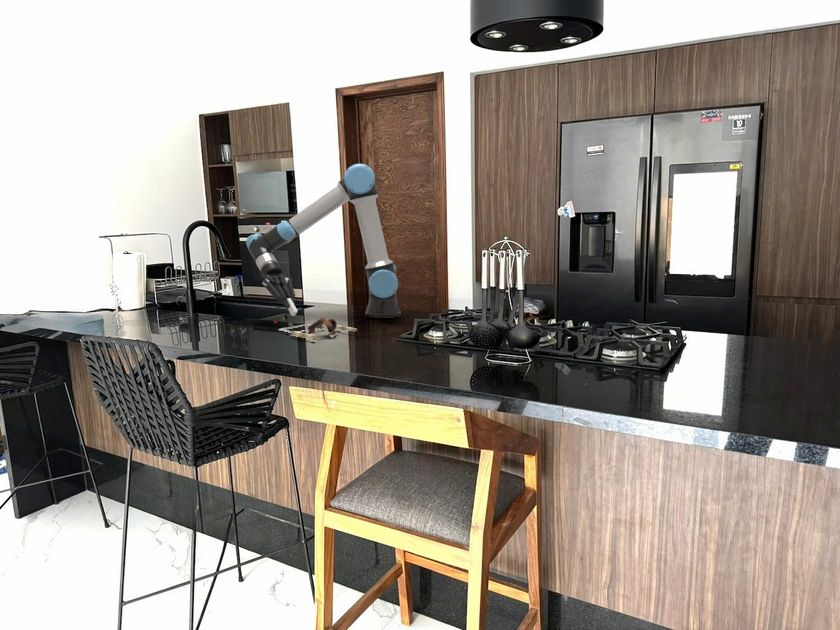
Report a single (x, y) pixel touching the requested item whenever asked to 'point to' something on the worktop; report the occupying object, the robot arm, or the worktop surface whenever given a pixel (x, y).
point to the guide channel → (314, 337)
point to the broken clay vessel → (329, 324)
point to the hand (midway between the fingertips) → (294, 313)
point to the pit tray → (294, 327)
